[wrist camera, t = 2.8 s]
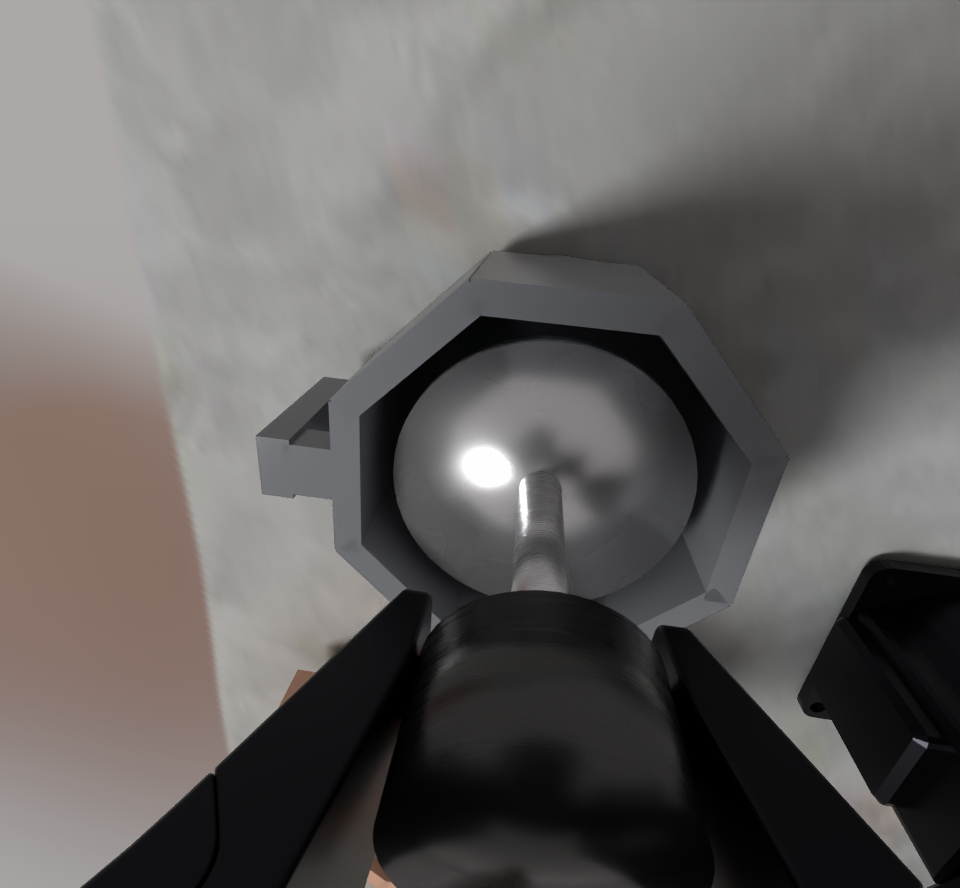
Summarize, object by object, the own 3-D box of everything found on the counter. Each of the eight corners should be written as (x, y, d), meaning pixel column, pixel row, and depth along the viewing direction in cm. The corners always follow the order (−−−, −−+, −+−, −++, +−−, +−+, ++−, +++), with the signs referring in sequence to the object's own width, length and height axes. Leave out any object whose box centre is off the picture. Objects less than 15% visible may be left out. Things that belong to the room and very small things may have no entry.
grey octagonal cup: (739, 273, 13) (843, 318, 9) (657, 554, 17) (699, 687, 12) (332, 231, 14) (228, 252, 9) (341, 512, 17) (272, 624, 13)
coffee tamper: (730, 355, 10) (1096, 681, 3) (652, 607, 13) (771, 1058, 6) (401, 318, 11) (152, 548, 4) (396, 571, 13) (248, 959, 7)
